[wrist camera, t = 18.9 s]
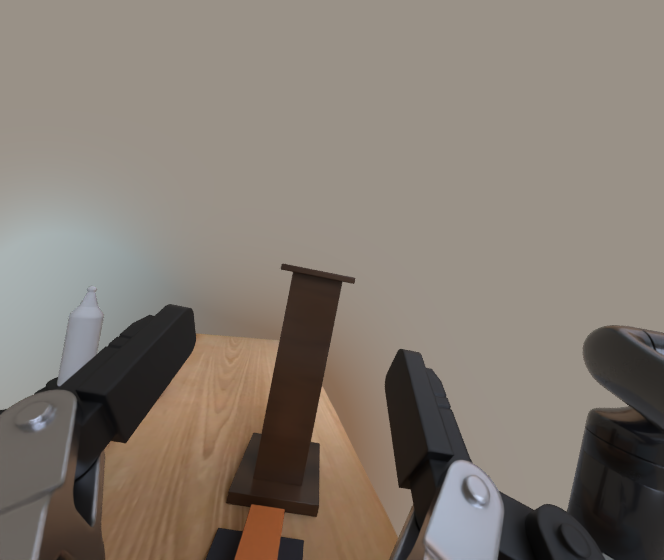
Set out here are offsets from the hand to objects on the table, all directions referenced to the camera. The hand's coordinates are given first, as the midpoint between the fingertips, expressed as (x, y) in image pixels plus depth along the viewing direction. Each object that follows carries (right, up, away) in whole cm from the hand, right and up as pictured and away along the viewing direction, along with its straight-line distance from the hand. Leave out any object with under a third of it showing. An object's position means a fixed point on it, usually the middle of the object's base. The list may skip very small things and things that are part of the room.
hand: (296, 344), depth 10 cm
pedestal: (-7, -28, +29) cm, 40 cm away
